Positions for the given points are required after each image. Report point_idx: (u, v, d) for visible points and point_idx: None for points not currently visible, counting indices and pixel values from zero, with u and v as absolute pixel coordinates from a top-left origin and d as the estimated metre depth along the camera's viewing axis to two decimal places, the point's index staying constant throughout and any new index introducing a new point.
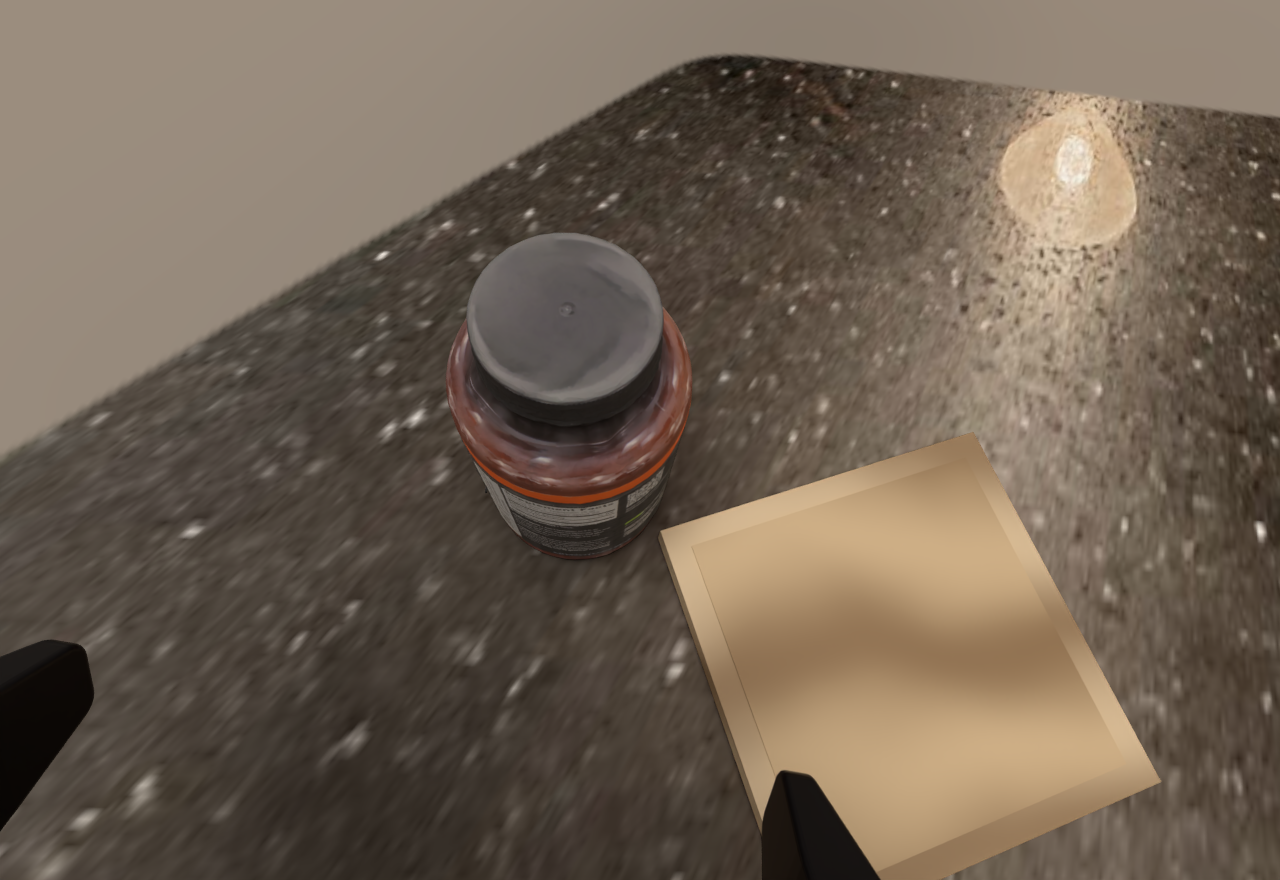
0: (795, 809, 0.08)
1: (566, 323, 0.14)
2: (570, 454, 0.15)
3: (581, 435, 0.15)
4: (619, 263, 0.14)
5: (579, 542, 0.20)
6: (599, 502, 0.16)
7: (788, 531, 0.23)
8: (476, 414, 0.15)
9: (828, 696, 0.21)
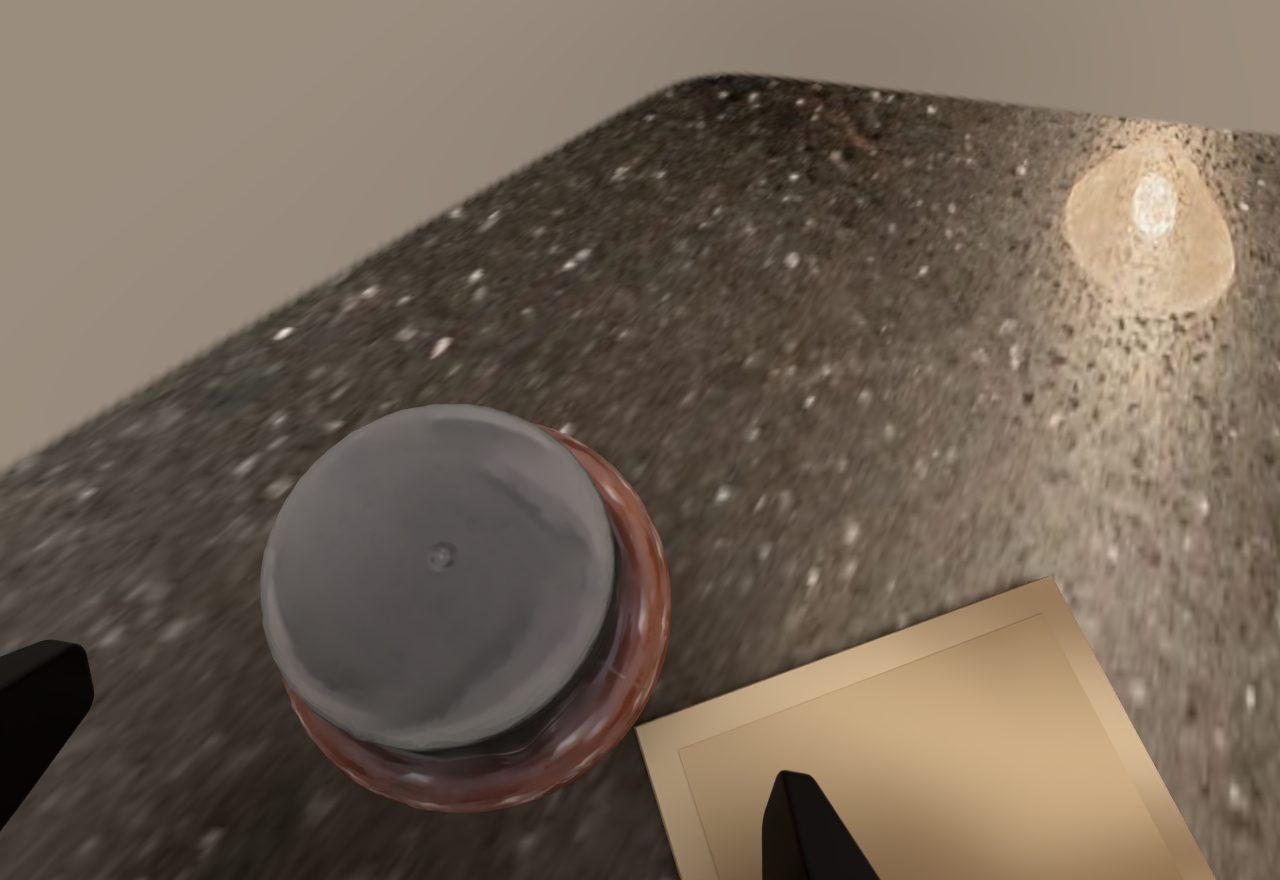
0: (795, 809, 0.08)
1: (439, 585, 0.08)
2: (463, 770, 0.09)
3: (479, 745, 0.09)
4: (540, 463, 0.08)
5: None
6: None
7: (809, 725, 0.17)
8: None
9: None
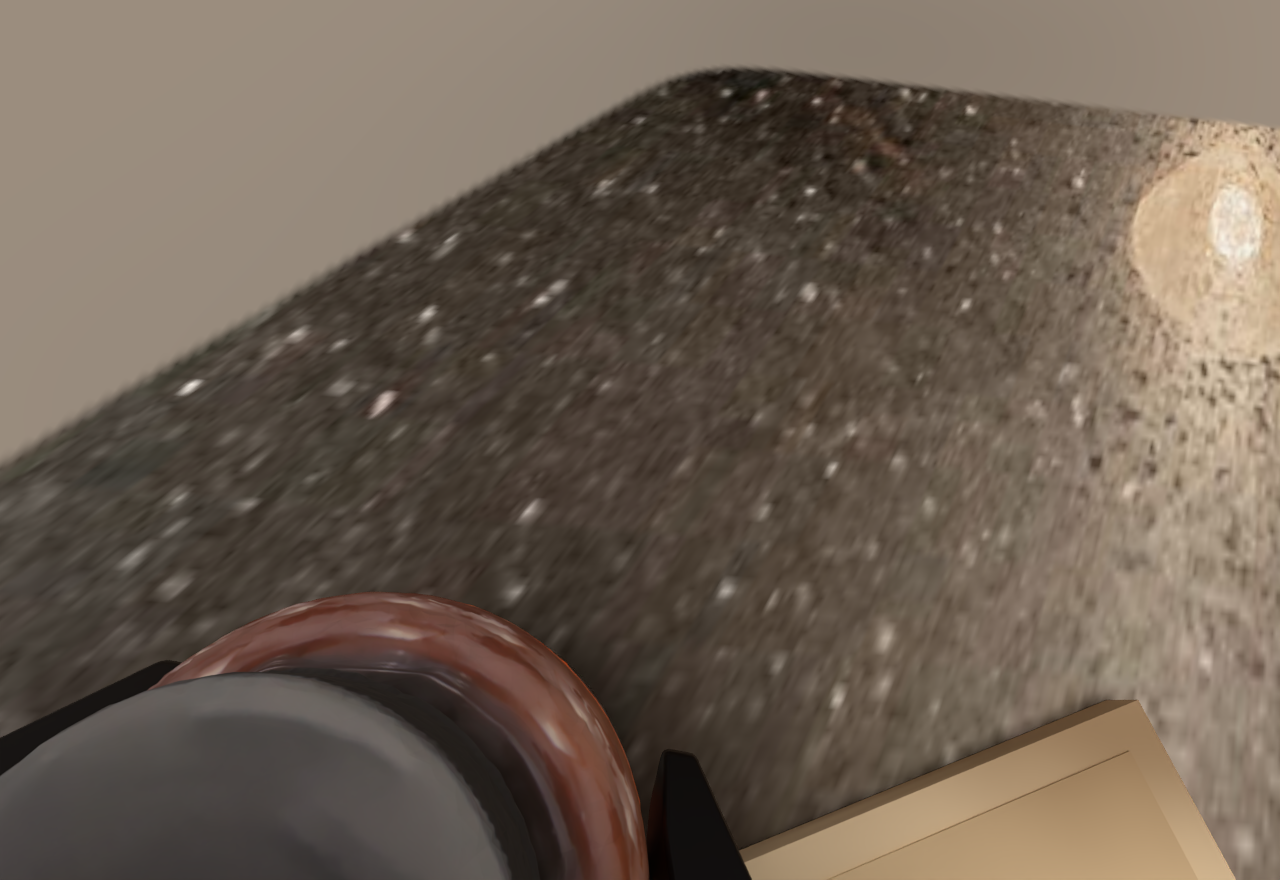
0: (668, 787, 0.08)
1: None
2: None
3: None
4: (390, 806, 0.04)
5: None
6: None
7: None
8: None
9: None
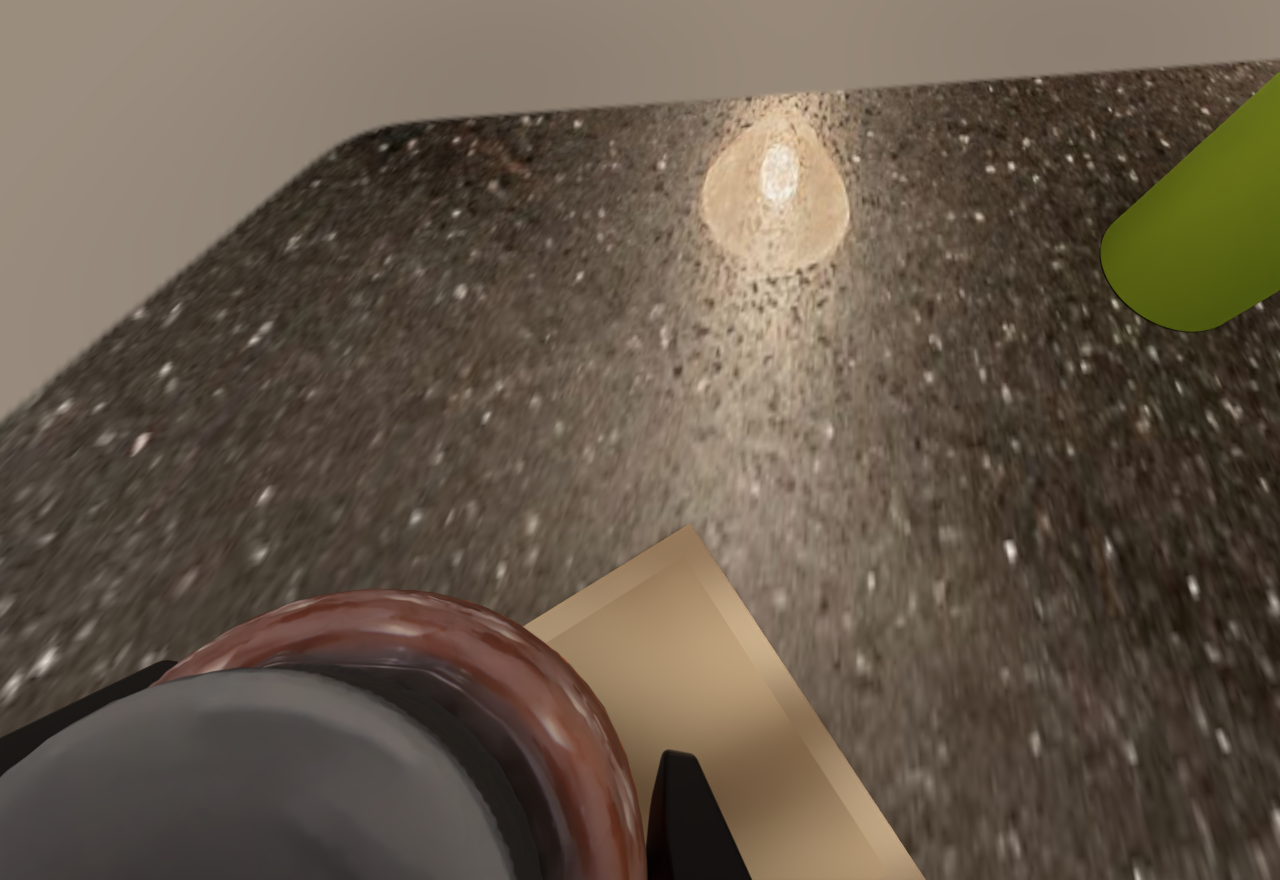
0: (669, 787, 0.08)
1: None
2: None
3: None
4: (394, 799, 0.04)
5: None
6: None
7: None
8: None
9: None
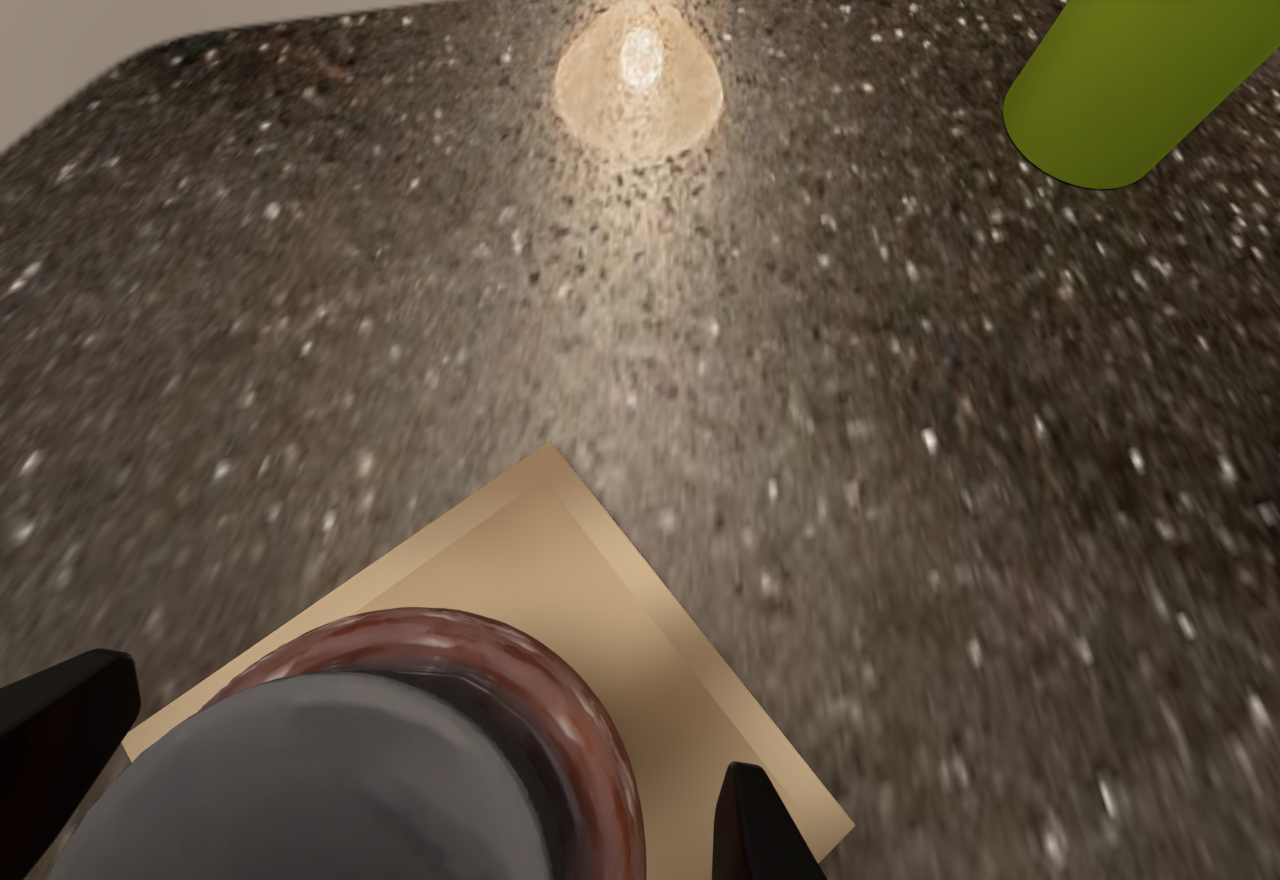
0: (741, 799, 0.08)
1: None
2: None
3: None
4: (449, 774, 0.06)
5: None
6: None
7: None
8: None
9: None
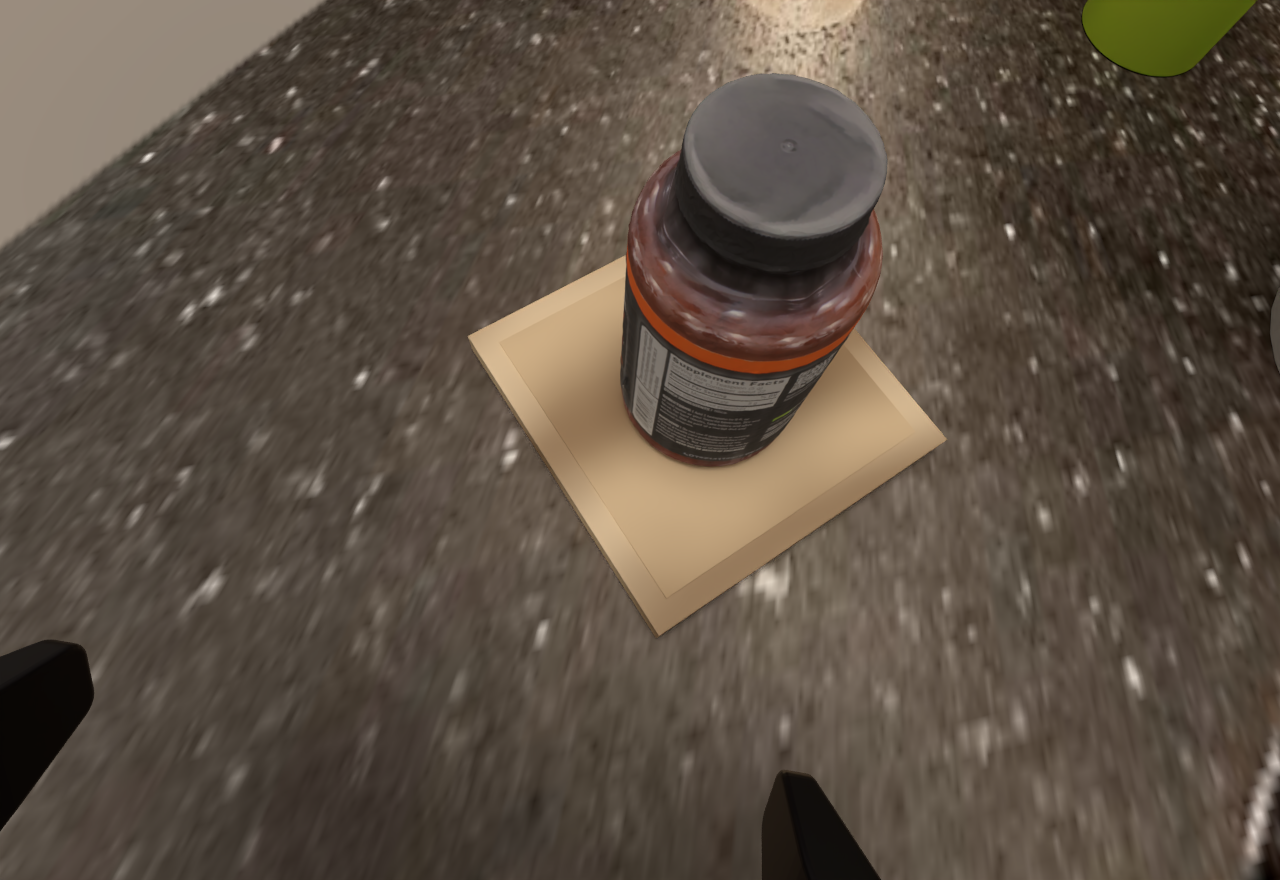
0: (795, 809, 0.08)
1: (788, 159, 0.13)
2: (765, 309, 0.14)
3: (780, 287, 0.14)
4: (842, 106, 0.13)
5: (720, 438, 0.20)
6: (774, 375, 0.16)
7: (587, 311, 0.24)
8: (667, 264, 0.15)
9: None
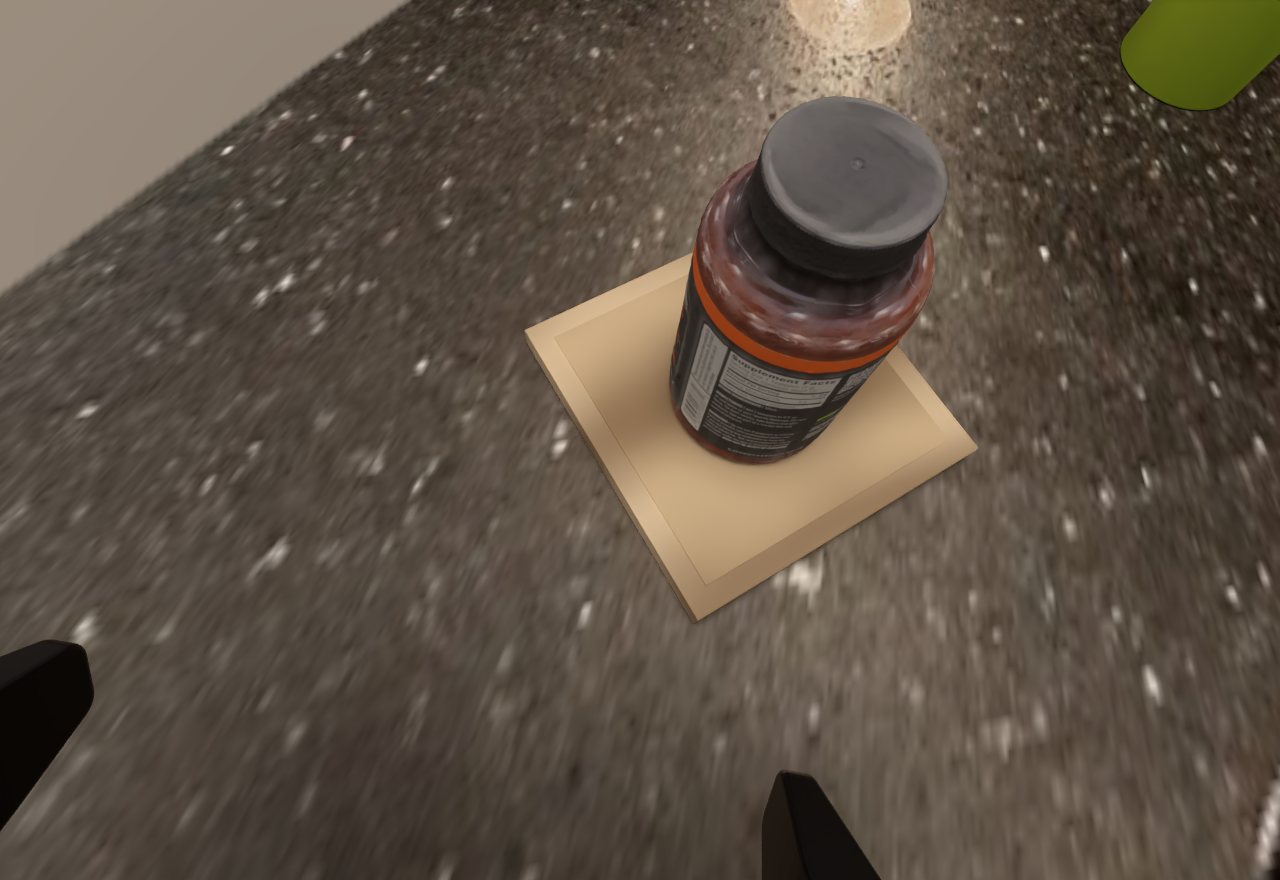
0: (795, 809, 0.08)
1: (857, 176, 0.14)
2: (825, 313, 0.15)
3: (841, 293, 0.15)
4: (907, 129, 0.15)
5: (766, 434, 0.21)
6: (827, 375, 0.17)
7: (638, 311, 0.26)
8: (736, 267, 0.16)
9: None
